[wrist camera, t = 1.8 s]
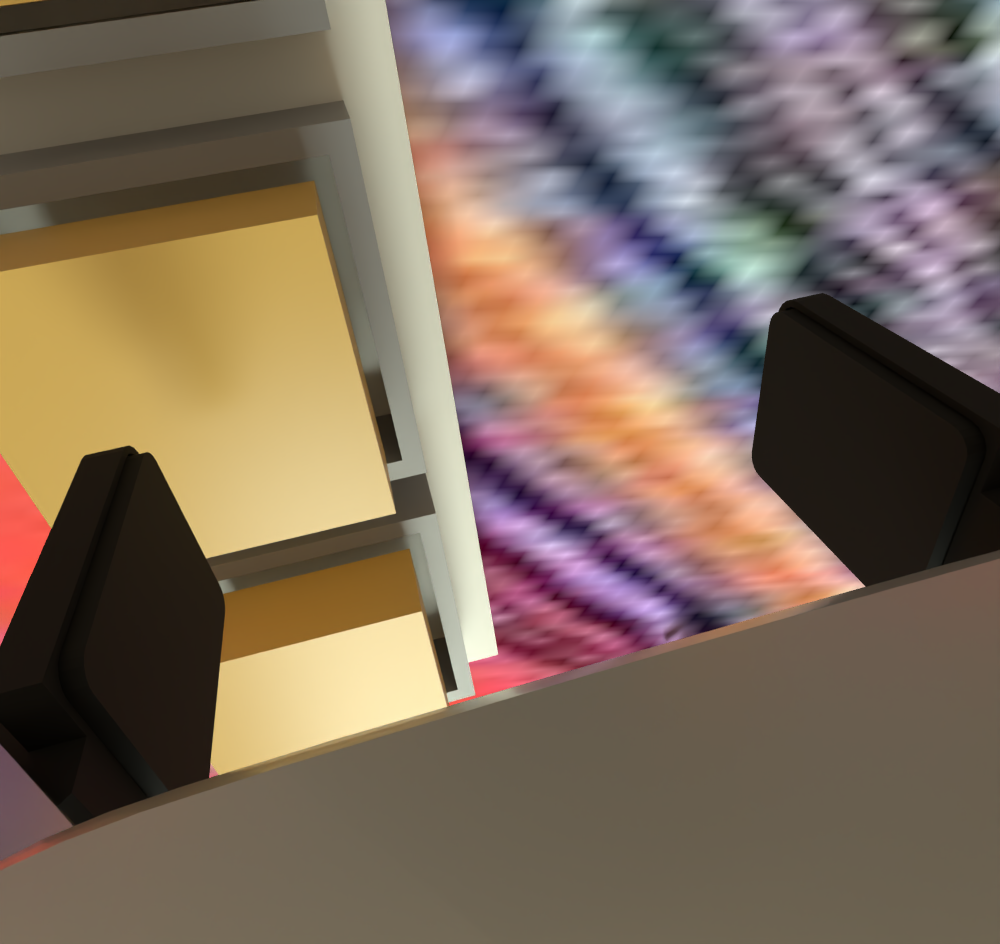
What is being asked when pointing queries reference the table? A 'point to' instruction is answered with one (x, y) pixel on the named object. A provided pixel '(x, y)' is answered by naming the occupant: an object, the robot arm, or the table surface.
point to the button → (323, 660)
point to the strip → (255, 166)
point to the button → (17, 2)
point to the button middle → (193, 364)
